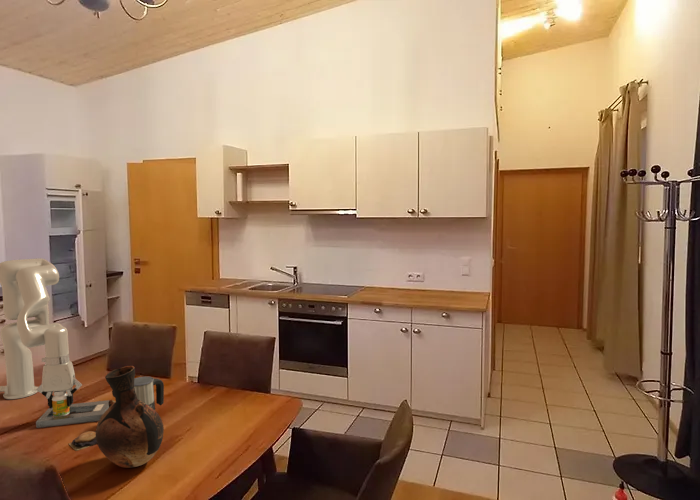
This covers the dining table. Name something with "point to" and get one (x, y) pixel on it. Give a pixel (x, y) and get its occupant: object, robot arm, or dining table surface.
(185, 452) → the dining table surface
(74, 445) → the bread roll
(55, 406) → the supplement bottle
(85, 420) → the grey rectangular frame
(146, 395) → the milk frother
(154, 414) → the ceramic vessel
